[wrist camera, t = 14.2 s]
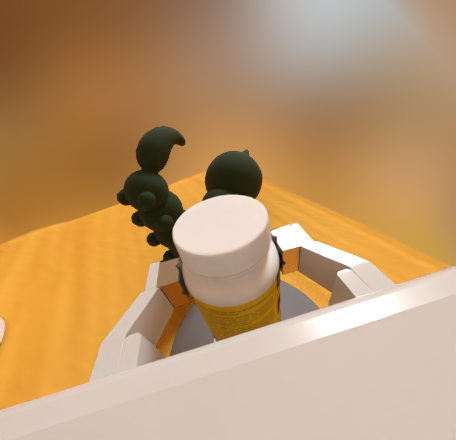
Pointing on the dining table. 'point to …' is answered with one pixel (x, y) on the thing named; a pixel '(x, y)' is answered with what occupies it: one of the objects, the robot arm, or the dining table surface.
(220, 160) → the toy figurine
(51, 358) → the dining table surface
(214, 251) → the supplement bottle
